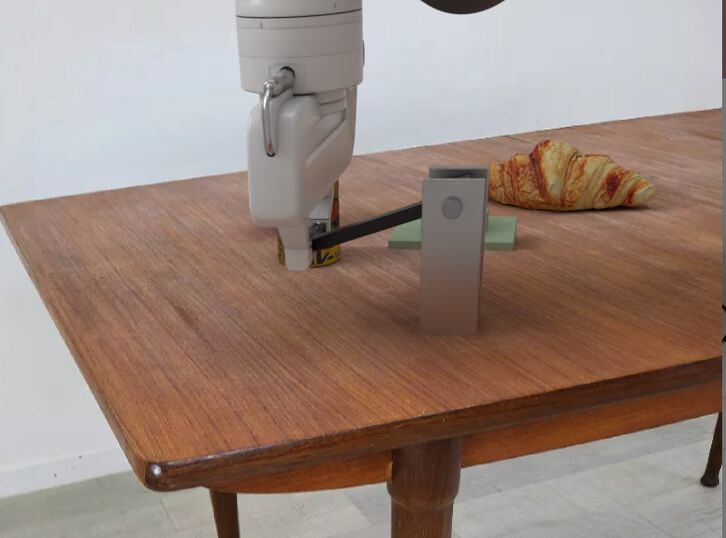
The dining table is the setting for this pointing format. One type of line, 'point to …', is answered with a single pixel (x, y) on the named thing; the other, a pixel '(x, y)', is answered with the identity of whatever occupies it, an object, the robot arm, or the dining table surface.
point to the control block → (496, 235)
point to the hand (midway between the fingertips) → (309, 254)
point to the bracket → (452, 249)
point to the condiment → (325, 255)
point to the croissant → (566, 180)
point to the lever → (365, 226)
